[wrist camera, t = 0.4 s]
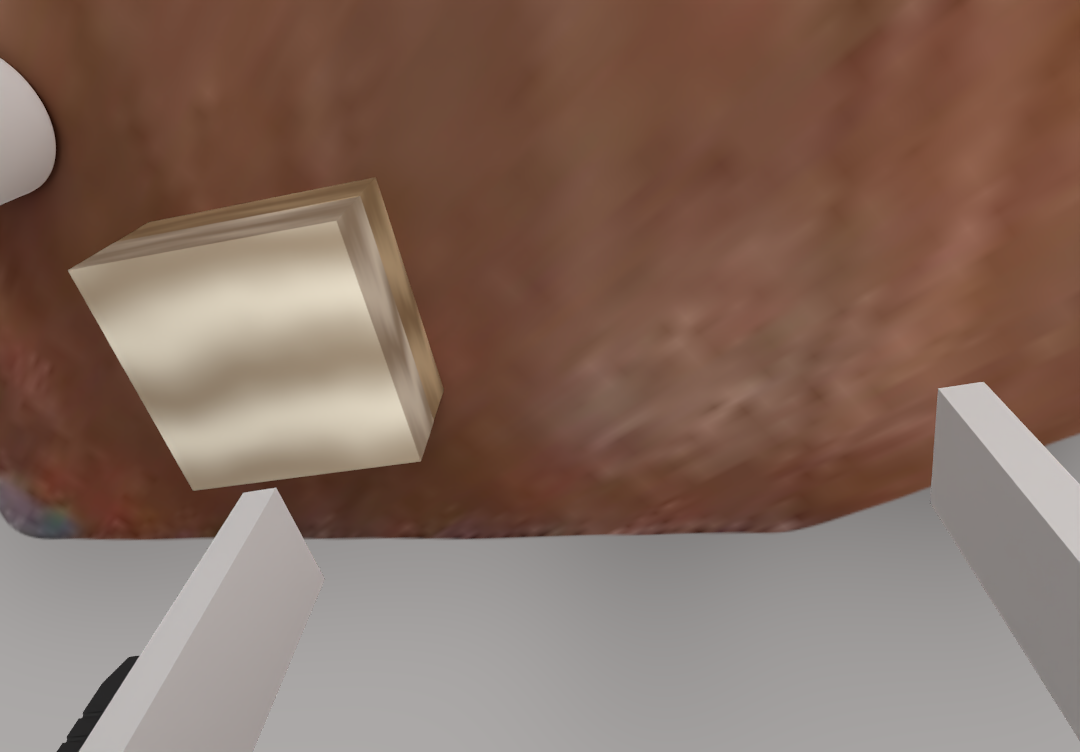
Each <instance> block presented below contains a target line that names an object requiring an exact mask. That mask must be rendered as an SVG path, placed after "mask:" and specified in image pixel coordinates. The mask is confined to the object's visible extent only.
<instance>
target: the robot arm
mask: <svg viewBox="0 0 1080 752" xmlns="http://www.w3.org/2000/svg"><path fill="white" fill-rule="evenodd" d="M930 504H931V505H932V507H933V509H934V510H935V512H936V513H937V515H938V517H939V518H940V520H941V521H942V523H943V525H944V526H945V528H946V529H947V531H948V532H949V534H950V536H951V537H952V539H953V540H954V542H955V544H956V545H957V547H958V548H959V550H960V552H961V553H962V555H963V556H964V558H965V559H966V561H967V563H968V564H969V566H970V567H971V569H972V570H973V572H974V574H975V575H976V577H977V578H978V580H979V582H980V583H981V585H982V586H983V588H984V590H985V591H986V593H987V594H988V596H989V597H990V599H991V601H992V602H993V604H994V605H995V607H996V609H997V610H998V612H999V613H1000V615H1001V617H1002V618H1003V620H1004V621H1005V623H1006V624H1007V626H1008V628H1009V629H1010V631H1011V632H1012V634H1013V636H1014V637H1015V639H1016V640H1017V642H1018V643H1019V645H1020V647H1021V648H1022V650H1023V652H1024V653H1025V655H1026V656H1027V658H1028V659H1029V661H1030V663H1031V664H1032V666H1033V667H1034V669H1035V670H1036V672H1037V674H1038V675H1039V677H1040V678H1041V680H1042V682H1043V683H1044V685H1045V686H1046V688H1047V690H1048V691H1049V693H1050V694H1051V696H1052V698H1053V699H1054V701H1055V702H1056V704H1057V705H1058V707H1059V709H1060V710H1061V712H1062V713H1063V715H1064V717H1065V718H1066V720H1067V721H1068V723H1069V725H1070V726H1071V728H1072V729H1073V731H1074V733H1075V734H1076V736H1077V737H1078V739H1079V740H1080V484H1079V483H1078V482H1077V481H1076V480H1075V479H1074V478H1073V477H1072V476H1071V475H1070V474H1069V473H1068V471H1067V470H1066V469H1065V468H1064V467H1063V466H1062V465H1061V464H1060V463H1059V462H1058V461H1057V460H1056V459H1055V458H1054V457H1053V455H1052V454H1051V453H1050V452H1049V451H1048V450H1047V449H1046V448H1045V447H1044V446H1043V445H1042V444H1041V443H1040V441H1039V440H1038V439H1037V438H1036V437H1035V436H1034V435H1033V434H1032V433H1031V432H1030V431H1029V430H1028V429H1027V428H1026V427H1025V425H1024V424H1023V423H1022V422H1021V421H1020V420H1019V419H1018V418H1017V417H1016V416H1015V415H1014V414H1013V413H1012V412H1011V410H1010V409H1009V408H1008V407H1007V406H1006V405H1005V404H1004V403H1003V402H1002V401H1001V400H1000V399H999V398H998V397H997V395H996V394H995V393H994V392H993V391H992V390H991V389H990V388H989V387H988V386H987V385H986V384H985V383H984V382H979V383H973V384H966V385H959V386H953V387H946V388H939V389H938V399H937V413H936V427H935V441H934V455H933V469H932V483H931V498H930ZM324 580H325V578H324V576H323V574H322V573H321V571H320V569H319V567H318V565H317V563H316V561H315V559H314V558H313V556H312V554H311V552H310V550H309V548H308V547H307V544H306V543H305V541H304V539H303V537H302V535H301V533H300V531H299V530H298V528H297V526H296V524H295V522H294V520H293V518H292V516H291V515H290V513H289V511H288V509H287V507H286V505H285V503H284V501H283V500H282V498H281V496H280V494H279V492H278V490H277V488H272V489H265V490H258V491H252V492H245V493H243V494H242V496H241V497H240V499H239V500H238V502H237V504H236V505H235V507H234V508H233V510H232V511H231V513H230V515H229V516H228V518H227V519H226V521H225V522H224V524H223V526H222V527H221V529H220V530H219V532H218V533H217V535H216V537H215V538H214V540H213V541H212V543H211V545H210V546H209V548H208V549H207V551H206V552H205V554H204V555H203V557H202V559H201V560H200V562H199V563H198V565H197V566H196V568H195V570H194V571H193V573H192V574H191V576H190V578H189V579H188V581H187V582H186V584H185V585H184V587H183V588H182V590H181V592H180V593H179V595H178V596H177V598H176V599H175V601H174V603H173V604H172V606H171V607H170V609H169V610H168V612H167V614H166V615H165V617H164V618H163V620H162V622H161V623H160V625H159V626H158V628H157V629H156V631H155V632H154V634H153V636H152V637H151V639H150V640H149V642H148V643H147V645H146V647H145V648H144V650H143V651H142V653H141V654H140V656H133V657H129V658H128V659H126V661H125V662H123V663H122V665H120V666H119V668H117V669H116V670H115V671H114V672H113V673H112V674H111V675H110V676H109V677H108V678H107V679H106V680H105V681H104V682H103V683H102V684H101V686H100V687H99V689H98V691H97V692H96V694H95V695H94V697H93V698H92V700H91V701H90V703H89V704H88V706H87V707H86V709H85V710H84V712H83V718H81V719H78V721H77V722H76V724H75V725H74V727H73V728H72V730H71V731H70V733H69V734H68V736H67V742H66V743H62V745H61V746H60V748H59V749H58V751H57V752H253V750H254V748H255V745H256V743H257V741H258V738H259V736H260V733H261V731H262V728H263V726H264V724H265V721H266V719H267V717H268V714H269V712H270V709H271V707H272V705H273V702H274V700H275V698H276V695H277V693H278V690H279V688H280V686H281V683H282V681H283V678H284V675H285V674H286V671H287V669H288V666H289V664H290V661H291V659H292V657H293V654H294V652H295V650H296V647H297V645H298V642H299V640H300V637H301V635H302V633H303V630H304V628H305V626H306V623H307V621H308V618H309V616H310V614H311V611H312V609H313V606H314V604H315V602H316V599H317V597H318V594H319V592H320V590H321V587H322V585H323V582H324Z"/></svg>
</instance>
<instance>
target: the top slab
mask: <svg viewBox="0 0 1080 752" xmlns="http://www.w3.org/2000/svg"><path fill="white" fill-rule="evenodd" d="M68 271H69V273H70V275H71V277H72V279H73V280H74V282H75V284H76V286H77V287H78V289H79V291H80V293H81V294H82V296H83V298H84V300H85V301H86V303H87V305H88V307H89V308H90V310H91V312H92V314H93V315H94V317H95V319H96V321H97V323H98V324H99V326H100V328H101V330H102V331H103V333H104V335H105V337H106V338H107V340H108V342H109V344H110V345H111V347H112V349H113V351H114V352H115V354H116V356H117V358H118V359H119V361H120V363H121V365H122V367H123V368H124V370H125V372H126V374H127V375H128V377H129V379H130V381H131V382H132V384H133V386H134V388H135V389H136V391H137V393H138V395H139V396H140V398H141V400H142V402H143V404H144V405H145V407H146V409H147V411H148V412H149V414H150V416H151V418H152V419H153V421H154V423H155V425H156V426H157V428H158V430H159V432H160V433H161V435H162V437H163V439H164V440H165V442H166V444H167V446H168V448H169V449H170V451H171V453H172V455H173V456H174V458H175V460H176V462H177V463H178V465H179V467H180V469H181V470H182V472H183V474H184V476H185V477H186V479H187V481H188V483H189V484H190V486H191V488H192V490H193V491H195V490H203V489H211V488H219V487H226V486H234V485H242V484H249V483H257V482H265V481H273V480H280V479H288V478H296V477H304V476H311V475H319V474H327V473H334V472H342V471H350V470H358V469H365V468H373V467H381V466H389V465H396V464H404V463H412V462H419V461H421V460H422V456H423V453H424V450H425V447H426V444H427V441H428V438H429V435H430V432H431V429H432V426H433V423H434V419H433V416H432V413H431V410H430V407H429V404H428V401H427V398H426V395H425V392H424V389H423V386H422V383H421V380H420V377H419V373H418V370H417V367H416V364H415V361H414V358H413V355H412V352H411V349H410V346H409V343H408V340H407V337H406V334H405V331H404V328H403V325H402V322H401V319H400V316H399V312H398V309H397V306H396V303H395V300H394V297H393V294H392V291H391V288H390V285H389V282H388V279H387V276H386V273H385V270H384V267H383V264H382V261H381V258H380V255H379V252H378V248H377V245H376V242H375V239H374V236H373V233H372V230H371V227H370V224H369V221H368V218H367V215H366V212H365V209H364V206H363V203H362V200H361V197H360V196H358V197H352V198H347V199H342V200H337V201H331V202H326V203H321V204H315V205H310V206H305V207H299V208H294V209H289V210H283V211H278V212H273V213H267V214H262V215H257V216H251V217H246V218H241V219H236V220H230V221H225V222H220V223H214V224H209V225H204V226H198V227H193V228H188V229H183V230H177V231H172V232H167V233H161V234H156V235H151V236H146V237H140V238H135V239H130V240H124V241H119V242H115V243H113V244H111V245H110V246H108V247H106V248H105V249H103V250H101V251H99V252H98V253H96V254H94V255H93V256H91V257H89V258H88V259H86V260H84V261H83V262H81V263H79V264H78V265H76V266H74V267H73V268H71V269H69V270H68Z"/></svg>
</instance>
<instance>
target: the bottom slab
mask: <svg viewBox="0 0 1080 752" xmlns="http://www.w3.org/2000/svg"><path fill="white" fill-rule="evenodd" d="M358 196H360V197H361V200H362V203H363V206H364V209H365V212H366V215H367V218H368V221H369V224H370V227H371V230H372V233H373V236H374V239H375V242H376V245H377V248H378V252H379V255H380V258H381V261H382V264H383V267H384V270H385V273H386V276H387V279H388V282H389V285H390V288H391V291H392V294H393V297H394V300H395V303H396V306H397V309H398V312H399V316H400V319H401V322H402V325H403V328H404V331H405V334H406V337H407V340H408V343H409V346H410V349H411V352H412V355H413V358H414V361H415V364H416V367H417V370H418V373H419V377H420V380H421V383H422V386H423V389H424V392H425V395H426V398H427V401H428V404H429V407H430V410H431V413H432V416H433V419H434V418H435V415H436V412H437V409H438V406H439V403H440V400H441V397H442V394H443V391H444V389H443V386H442V383H441V380H440V377H439V373H438V370H437V367H436V364H435V361H434V358H433V355H432V352H431V349H430V345H429V342H428V339H427V336H426V333H425V330H424V327H423V324H422V320H421V317H420V314H419V311H418V308H417V305H416V302H415V299H414V295H413V292H412V289H411V286H410V283H409V280H408V277H407V274H406V270H405V267H404V264H403V261H402V258H401V255H400V252H399V249H398V245H397V242H396V239H395V236H394V233H393V230H392V227H391V224H390V220H389V217H388V214H387V211H386V208H385V205H384V202H383V199H382V196H381V192H380V189H379V186H378V183H377V180H376V177H375V178H370V179H365V180H360V181H355V182H350V183H345V184H340V185H335V186H330V187H325V188H320V189H315V190H310V191H304V192H299V193H294V194H289V195H284V196H279V197H274V198H269V199H264V200H259V201H254V202H249V203H244V204H239V205H234V206H229V207H224V208H219V209H214V210H208V211H203V212H198V213H193V214H188V215H183V216H178V217H173V218H168V219H163V220H158V221H153V222H148V223H147V224H145V225H143V226H142V227H140V228H138V229H137V230H135V231H133V232H132V233H130V234H128V235H127V236H125V237H123V238H122V239H120V240H118V241H117V242H119V241H124V240H130V239H135V238H140V237H146V236H151V235H156V234H161V233H167V232H172V231H177V230H183V229H188V228H193V227H198V226H204V225H209V224H214V223H220V222H225V221H230V220H236V219H241V218H246V217H251V216H257V215H262V214H267V213H273V212H278V211H283V210H289V209H294V208H299V207H305V206H310V205H315V204H321V203H326V202H331V201H337V200H342V199H347V198H352V197H358Z"/></svg>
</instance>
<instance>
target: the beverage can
mask: <svg viewBox="0 0 1080 752" xmlns="http://www.w3.org/2000/svg"><path fill="white" fill-rule="evenodd" d="M55 156H56V141H55V135H54V130H53V127H52V123H51V120H50V118H49V115H48V113H47V111H46V109H45V107H44V105H43V103H42V102H41V100H40V98H39V97H38V95H37V94H36V92H35V91H34V90H33V88H32V87H31V86H30V85H29V83H28V82H27V81H26V80H25V79H24V78H23V77H22V76H21V75H20V74H19V73H18V72H17V71H16V70H15V69H14V68H13V67H12V66H10V65H9V64H8V63H7V62H5V61H4V60H3V59H1V58H0V205H2V204H4V203H7V202H9V201H11V200H14V199H16V198H19V197H21V196H23V195H26V194H28V193H30V192H32V191H34V190H36V189H37V188H39V187H40V186H41V185H42V184H43V183H44V182H45V181H46V180H47V178H48V177H49V175H50V173H51V171H52V169H53V166H54V162H55Z"/></svg>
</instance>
